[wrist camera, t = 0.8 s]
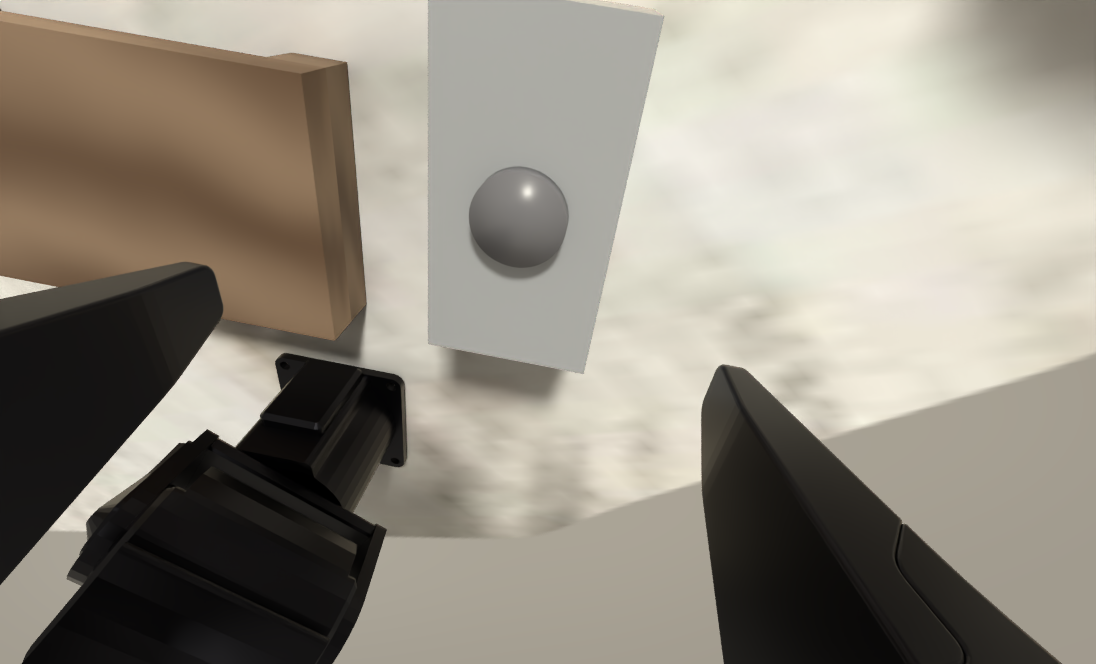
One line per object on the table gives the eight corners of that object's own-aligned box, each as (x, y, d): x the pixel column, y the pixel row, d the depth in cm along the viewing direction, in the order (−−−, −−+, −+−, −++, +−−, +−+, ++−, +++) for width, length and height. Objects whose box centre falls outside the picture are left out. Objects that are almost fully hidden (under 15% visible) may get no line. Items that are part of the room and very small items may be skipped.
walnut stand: (366, 304, 23) (334, 340, 21) (58, 244, 24) (-8, 274, 21) (346, 62, 18) (300, 73, 15) (-57, -8, 18) (-164, -8, 16)
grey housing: (594, 286, 21) (582, 385, 16) (474, 263, 22) (422, 354, 16) (653, 8, 16) (665, 17, 10) (490, -19, 16) (418, -24, 11)
